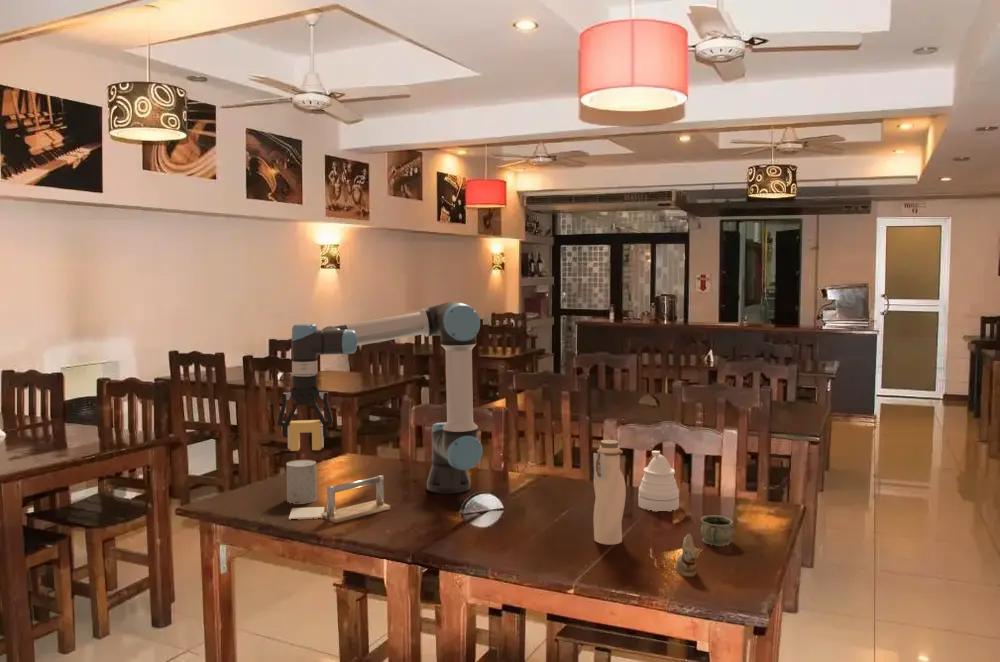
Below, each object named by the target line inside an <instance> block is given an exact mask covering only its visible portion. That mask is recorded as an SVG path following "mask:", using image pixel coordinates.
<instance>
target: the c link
mask: <svg viewBox="0 0 1000 662" xmlns="http://www.w3.org/2000/svg"><path fill="white" fill-rule="evenodd" d="M321 425H322V423H321V421H320V419H306V420H305V419H303V420H301V419H300V420H291V421H290V423H289V426H290V449H289V450H290V452H292V451H297V452H298V451H299V450H300V448H301V435H300V433H303V434H304V433H311V450H312V451H321V449H322V448H321V437H320V427H321Z"/></svg>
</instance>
